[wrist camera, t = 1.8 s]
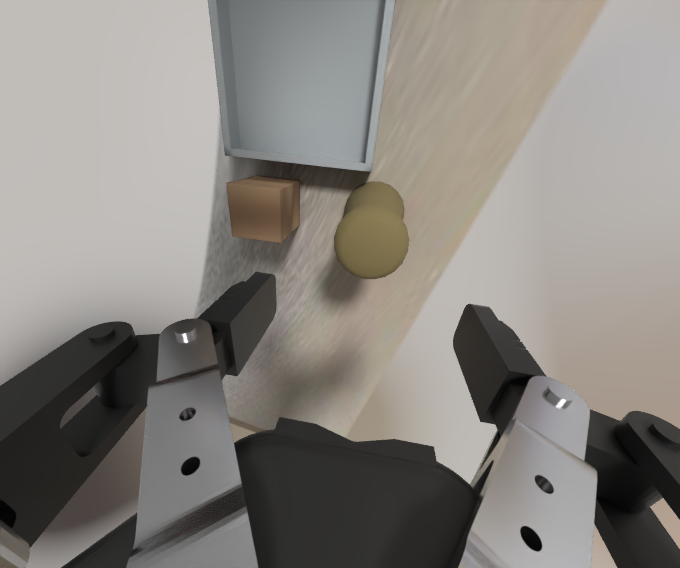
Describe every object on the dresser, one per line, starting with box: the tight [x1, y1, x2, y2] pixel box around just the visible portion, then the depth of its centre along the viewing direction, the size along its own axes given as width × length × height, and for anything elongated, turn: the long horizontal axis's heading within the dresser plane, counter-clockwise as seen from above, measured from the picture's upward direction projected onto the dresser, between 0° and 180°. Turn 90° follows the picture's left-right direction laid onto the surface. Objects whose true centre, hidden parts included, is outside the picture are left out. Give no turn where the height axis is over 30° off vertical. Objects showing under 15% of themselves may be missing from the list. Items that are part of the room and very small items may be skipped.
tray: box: [208, 0, 396, 172], centre depth 19 cm, size 18×13×2 cm
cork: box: [334, 182, 409, 279], centre depth 21 cm, size 6×6×11 cm
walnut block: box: [226, 176, 300, 243], centre depth 24 cm, size 4×4×6 cm
